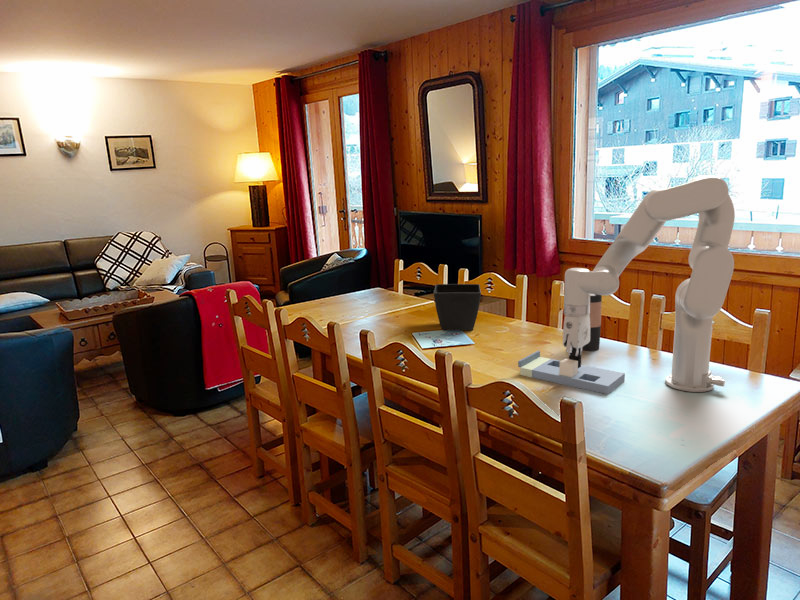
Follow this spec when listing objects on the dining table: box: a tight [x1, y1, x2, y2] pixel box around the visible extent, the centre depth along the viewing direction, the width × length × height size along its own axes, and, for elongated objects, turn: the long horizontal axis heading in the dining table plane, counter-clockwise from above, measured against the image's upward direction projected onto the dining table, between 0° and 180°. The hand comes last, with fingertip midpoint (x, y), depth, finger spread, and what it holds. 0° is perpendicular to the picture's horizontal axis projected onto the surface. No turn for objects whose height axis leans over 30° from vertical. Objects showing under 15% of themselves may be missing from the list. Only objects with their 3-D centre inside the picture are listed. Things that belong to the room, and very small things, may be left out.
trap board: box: [517, 350, 626, 395], centre depth 175 cm, size 29×13×4 cm, turn 49°
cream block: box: [559, 358, 578, 377], centre depth 171 cm, size 4×4×4 cm
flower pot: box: [433, 283, 482, 331], centre depth 237 cm, size 19×19×17 cm
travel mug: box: [582, 294, 603, 352], centre depth 202 cm, size 8×8×20 cm
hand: (574, 366), depth 175 cm, fingers closed
